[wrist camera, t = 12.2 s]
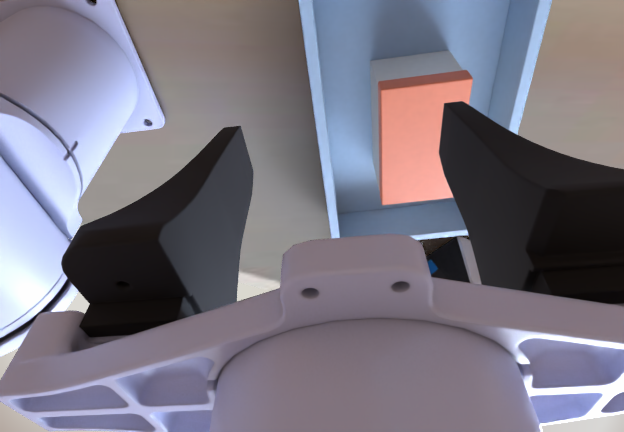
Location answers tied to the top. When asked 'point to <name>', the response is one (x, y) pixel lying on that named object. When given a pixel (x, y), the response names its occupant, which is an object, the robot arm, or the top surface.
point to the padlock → (454, 262)
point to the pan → (396, 43)
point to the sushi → (413, 123)
